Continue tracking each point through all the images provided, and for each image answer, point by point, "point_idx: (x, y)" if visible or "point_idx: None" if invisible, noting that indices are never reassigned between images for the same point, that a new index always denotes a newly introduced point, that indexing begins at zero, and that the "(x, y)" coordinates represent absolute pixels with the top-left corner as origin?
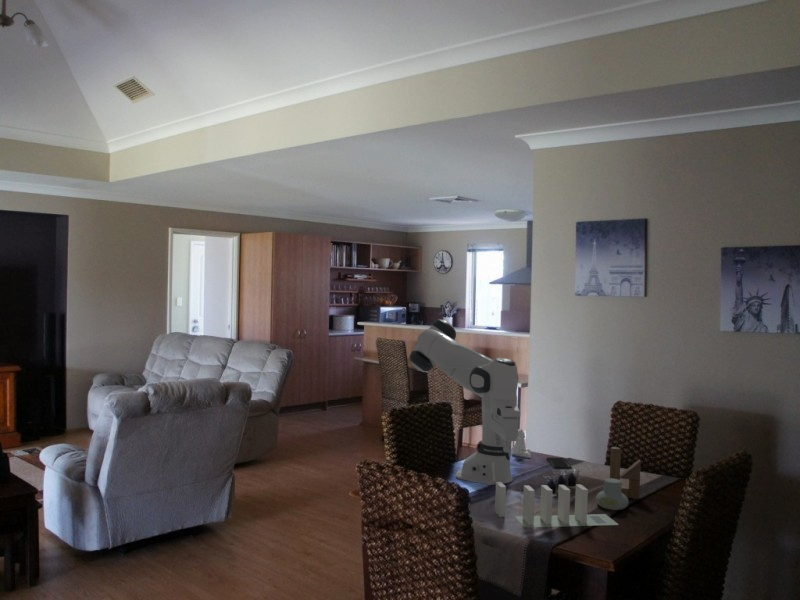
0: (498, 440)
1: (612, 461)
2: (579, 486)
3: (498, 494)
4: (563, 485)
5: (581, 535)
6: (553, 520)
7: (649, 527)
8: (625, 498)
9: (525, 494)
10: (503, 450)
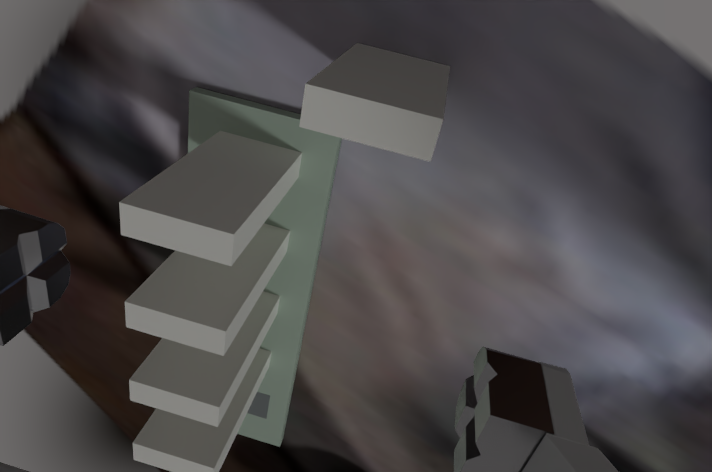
0: (480, 444)
1: None
2: (181, 462)
3: (373, 80)
4: (206, 419)
5: (130, 271)
6: None
7: None
8: None
9: (215, 201)
10: (26, 218)
